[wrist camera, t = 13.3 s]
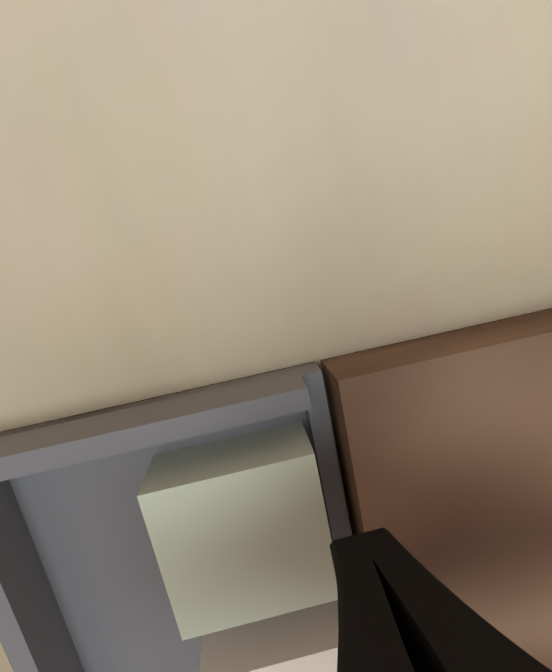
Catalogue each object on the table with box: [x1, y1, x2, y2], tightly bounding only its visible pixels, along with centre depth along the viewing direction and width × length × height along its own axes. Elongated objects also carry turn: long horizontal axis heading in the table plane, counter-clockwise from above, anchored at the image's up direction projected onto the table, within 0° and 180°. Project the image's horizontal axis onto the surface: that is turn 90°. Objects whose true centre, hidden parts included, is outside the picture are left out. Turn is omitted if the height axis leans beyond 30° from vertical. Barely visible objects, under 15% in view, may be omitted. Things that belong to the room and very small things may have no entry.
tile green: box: [137, 421, 338, 641], centre depth 11 cm, size 4×4×2 cm
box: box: [0, 362, 352, 672], centre depth 12 cm, size 14×10×2 cm
